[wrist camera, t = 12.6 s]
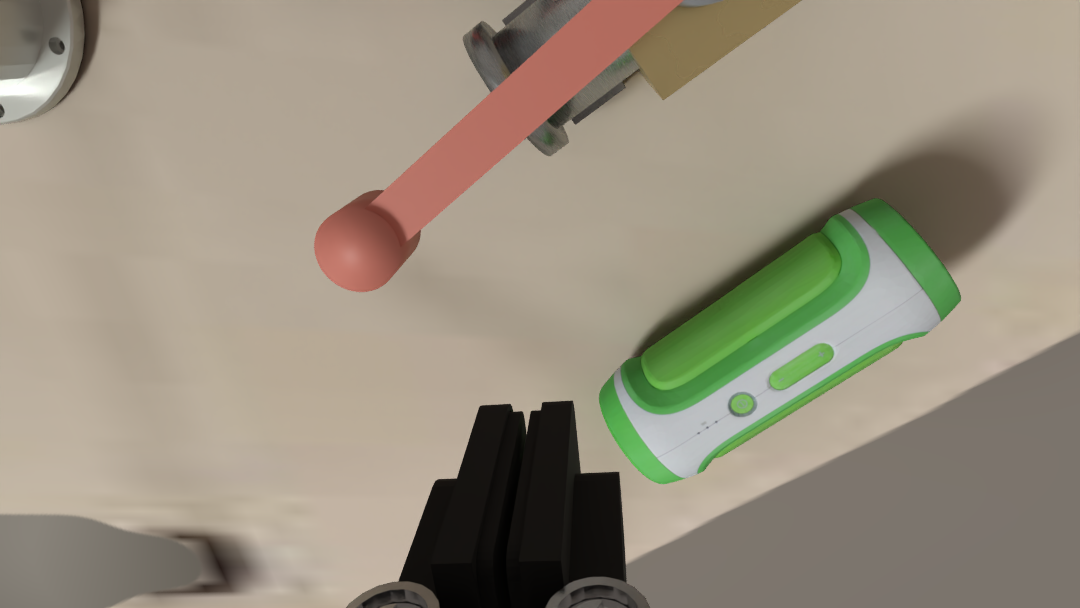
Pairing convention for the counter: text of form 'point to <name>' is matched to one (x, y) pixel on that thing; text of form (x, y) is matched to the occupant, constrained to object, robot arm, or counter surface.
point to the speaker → (777, 342)
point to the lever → (479, 142)
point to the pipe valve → (660, 55)
